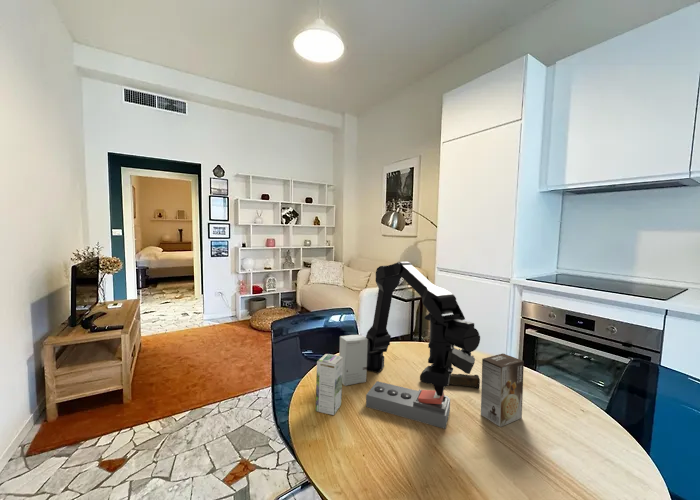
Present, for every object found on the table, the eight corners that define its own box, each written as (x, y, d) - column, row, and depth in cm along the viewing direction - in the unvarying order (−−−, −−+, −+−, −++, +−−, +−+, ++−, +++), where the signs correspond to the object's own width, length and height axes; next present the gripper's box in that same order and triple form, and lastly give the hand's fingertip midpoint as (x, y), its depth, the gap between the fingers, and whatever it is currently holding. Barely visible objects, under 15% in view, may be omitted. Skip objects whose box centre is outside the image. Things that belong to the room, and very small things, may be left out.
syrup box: (323, 401, 88) (324, 352, 87) (342, 405, 86) (343, 355, 85) (315, 411, 83) (315, 360, 82) (334, 416, 81) (335, 363, 80)
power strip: (365, 406, 86) (366, 391, 85) (376, 391, 94) (377, 377, 93) (445, 428, 76) (446, 411, 76) (449, 410, 84) (450, 395, 84)
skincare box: (344, 386, 97) (345, 341, 96) (337, 378, 102) (338, 335, 102) (367, 382, 100) (368, 338, 99) (360, 374, 106) (360, 332, 105)
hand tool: (477, 384, 100) (478, 371, 100) (480, 390, 96) (480, 376, 96) (419, 378, 104) (420, 365, 104) (420, 384, 100) (420, 370, 100)
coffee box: (501, 406, 87) (503, 352, 86) (522, 418, 81) (525, 360, 80) (479, 414, 83) (481, 358, 82) (500, 428, 77) (503, 367, 76)
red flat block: (418, 402, 81) (418, 398, 81) (422, 394, 85) (421, 389, 85) (441, 404, 78) (440, 399, 78) (444, 395, 83) (443, 390, 83)
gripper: (470, 356, 68) (469, 423, 69) (474, 333, 85) (473, 387, 86) (422, 348, 73) (421, 411, 74) (434, 328, 90) (434, 379, 91)
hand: (440, 395), depth 81 cm, fingers closed, pressing on red flat block
